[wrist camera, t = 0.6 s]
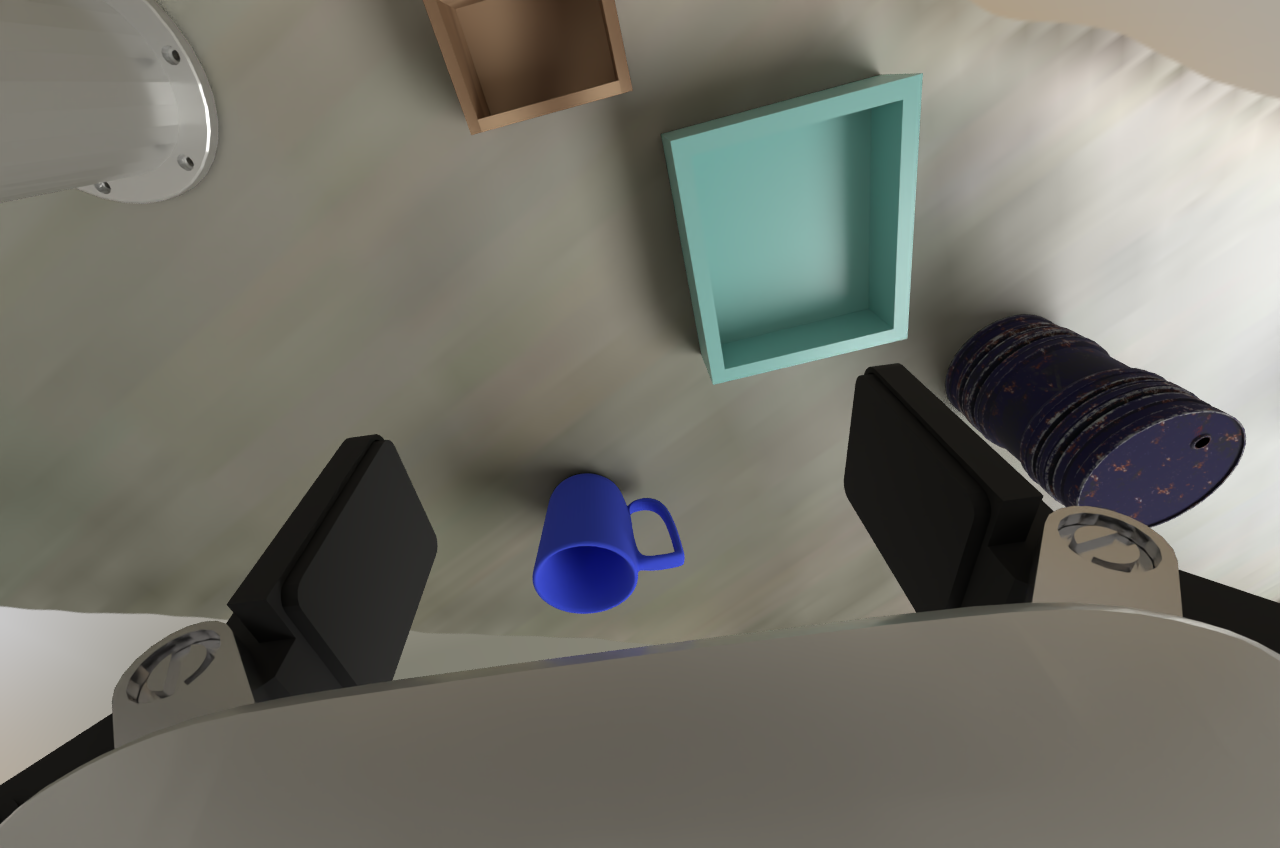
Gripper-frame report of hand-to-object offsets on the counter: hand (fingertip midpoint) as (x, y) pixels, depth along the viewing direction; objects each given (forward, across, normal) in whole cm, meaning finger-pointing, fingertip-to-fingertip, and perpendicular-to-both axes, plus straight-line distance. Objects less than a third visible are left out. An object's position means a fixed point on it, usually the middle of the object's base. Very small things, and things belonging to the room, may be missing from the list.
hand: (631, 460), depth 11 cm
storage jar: (+30, -31, +18) cm, 47 cm away
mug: (+30, +4, +26) cm, 39 cm away
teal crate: (+29, -12, +4) cm, 32 cm away
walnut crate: (+29, +3, -9) cm, 31 cm away
